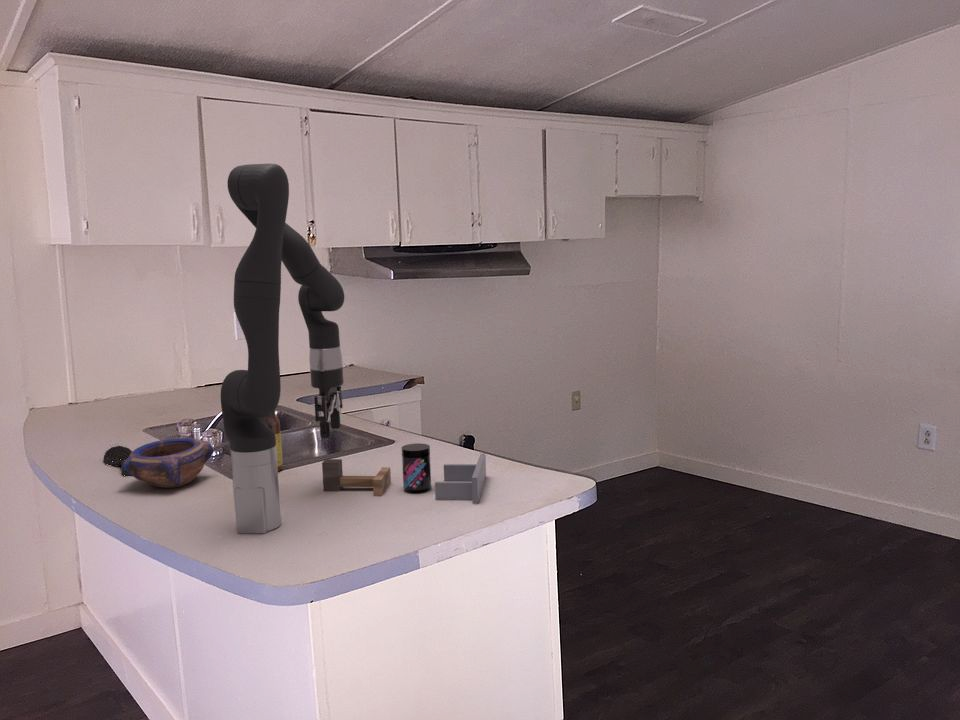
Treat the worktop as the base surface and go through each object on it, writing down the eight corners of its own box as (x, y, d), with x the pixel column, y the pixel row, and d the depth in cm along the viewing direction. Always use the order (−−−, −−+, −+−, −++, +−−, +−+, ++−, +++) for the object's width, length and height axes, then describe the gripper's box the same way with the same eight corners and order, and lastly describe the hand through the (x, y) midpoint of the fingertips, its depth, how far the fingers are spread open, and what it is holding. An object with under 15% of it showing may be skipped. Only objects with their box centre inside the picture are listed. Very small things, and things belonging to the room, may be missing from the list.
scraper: (382, 496, 188) (380, 467, 187) (319, 495, 189) (317, 466, 188) (390, 483, 198) (389, 455, 197) (331, 482, 199) (329, 455, 198)
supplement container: (397, 489, 192) (395, 447, 191) (420, 483, 197) (418, 441, 195) (414, 495, 187) (412, 452, 186) (437, 489, 192) (435, 446, 190)
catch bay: (477, 503, 181) (477, 477, 180) (433, 503, 182) (432, 477, 181) (486, 476, 200) (485, 453, 199) (446, 476, 201) (445, 453, 200)
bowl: (115, 491, 197) (111, 452, 196) (167, 471, 214) (163, 434, 212) (174, 497, 191) (171, 457, 190) (223, 476, 208) (220, 438, 206)
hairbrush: (112, 470, 207) (100, 445, 228) (113, 484, 208) (101, 458, 229) (146, 465, 211) (131, 441, 232) (148, 478, 212) (132, 453, 233)
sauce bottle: (257, 469, 213) (251, 395, 210) (281, 466, 215) (275, 393, 212) (260, 475, 207) (255, 399, 204) (285, 472, 209) (280, 397, 206)
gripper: (319, 361, 197) (324, 425, 200) (301, 371, 183) (306, 441, 186) (349, 360, 196) (353, 425, 199) (333, 371, 182) (338, 440, 185)
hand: (330, 433), depth 192 cm, fingers open, 8 cm apart
